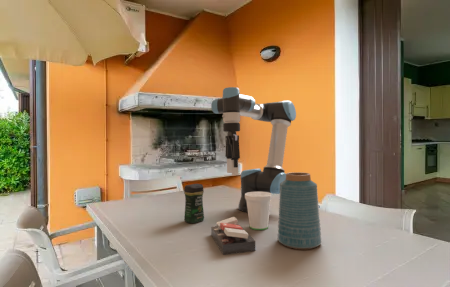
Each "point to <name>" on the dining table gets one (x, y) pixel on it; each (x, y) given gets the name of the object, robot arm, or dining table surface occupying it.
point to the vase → (299, 212)
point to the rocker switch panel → (232, 242)
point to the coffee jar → (194, 203)
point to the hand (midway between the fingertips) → (232, 173)
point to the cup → (258, 209)
